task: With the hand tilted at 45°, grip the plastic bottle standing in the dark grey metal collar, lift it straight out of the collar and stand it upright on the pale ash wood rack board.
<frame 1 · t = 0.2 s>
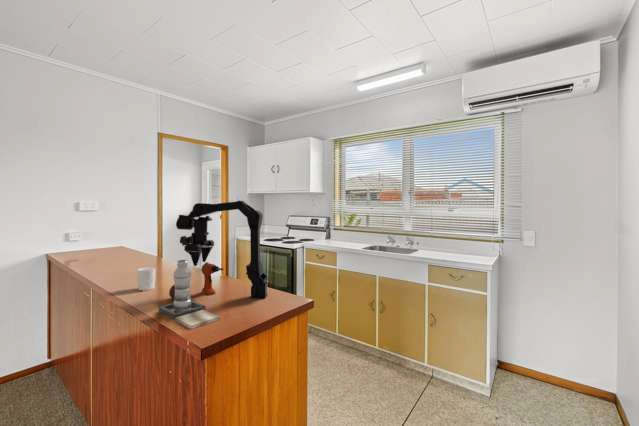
hand: (199, 263, 138), 15 cm above the countertop, tool pointing down, fingers open, 9 cm apart
potato: (179, 300, 130), on the countertop
rack board: (197, 320, 109), on the countertop
toy drill: (212, 295, 139), on the countertop
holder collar: (182, 311, 117), on the countertop
plastic bottle: (182, 311, 117), resting in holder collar
white cup: (146, 289, 147), on the countertop
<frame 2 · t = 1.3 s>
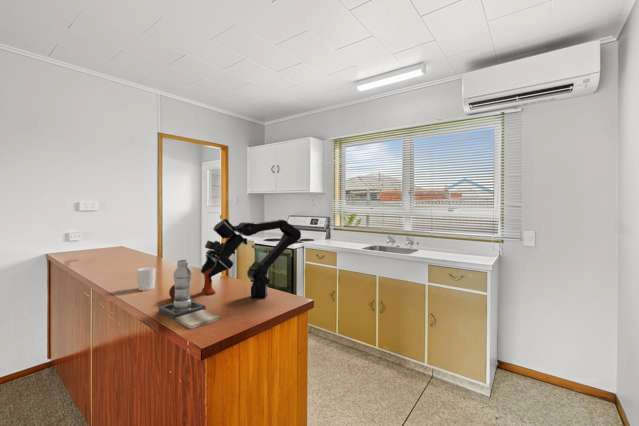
hand: (204, 274, 122), 13 cm above the countertop, tool tilted 45°, fingers open, 9 cm apart
nothing on the countertop moved.
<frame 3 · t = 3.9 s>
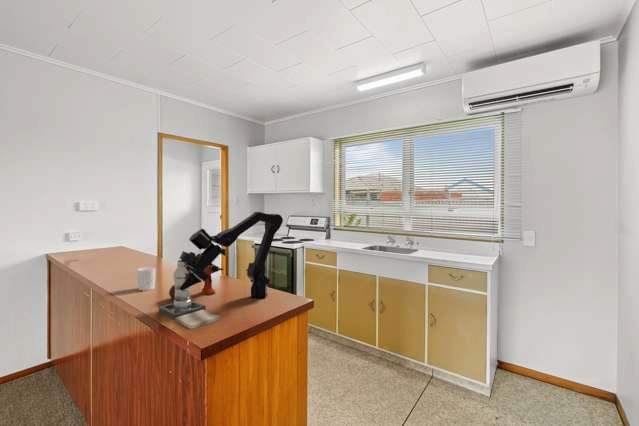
hand: (178, 287, 116), 10 cm above the countertop, tool tilted 45°, fingers closed on plastic bottle, 6 cm apart
plastic bottle: (182, 311, 117), resting in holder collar, touching gripper
everything else where it was.
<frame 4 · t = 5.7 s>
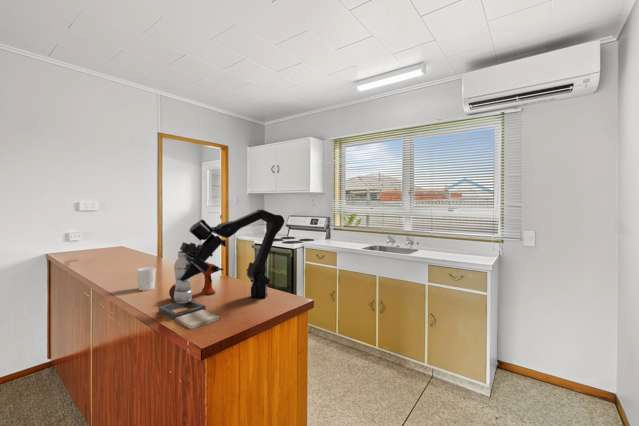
hand: (179, 278, 116), 13 cm above the countertop, tool tilted 45°, fingers closed on plastic bottle, 6 cm apart
plastic bottle: (183, 302, 117), point 3 cm above the countertop, touching gripper
everything else where it was.
when the fingers open (11 cm above the countertop, at t = 7.7 s): plastic bottle stays where it is, resting on rack board.
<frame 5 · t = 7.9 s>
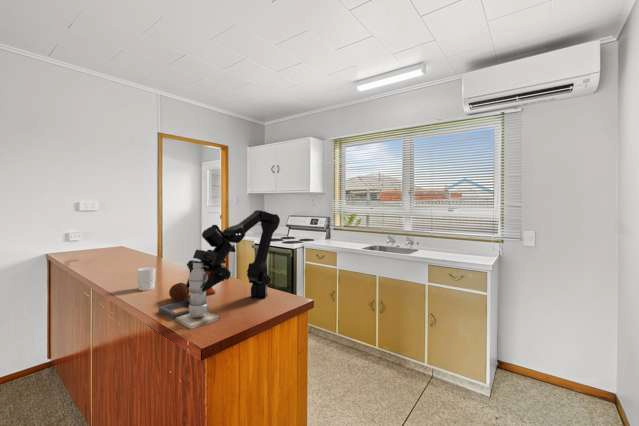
hand: (194, 289, 107), 12 cm above the countertop, tool tilted 45°, fingers open, 8 cm apart
plastic bottle: (198, 317, 109), point 1 cm above the countertop, touching rack board
everything else where it was.
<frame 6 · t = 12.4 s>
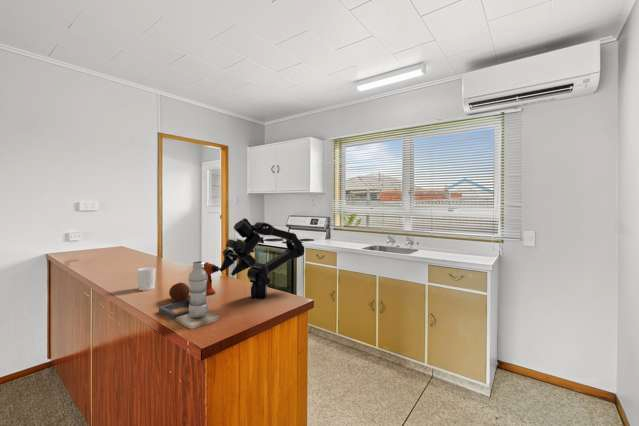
hand: (226, 273, 125), 14 cm above the countertop, tool tilted 45°, fingers open, 9 cm apart
nothing on the countertop moved.
at the end: plastic bottle inside the target area on the rack board (0.2 cm from its centre), point 1.0 cm above the rack board's base; plastic bottle tilted 0°; the gripper is holding nothing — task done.
